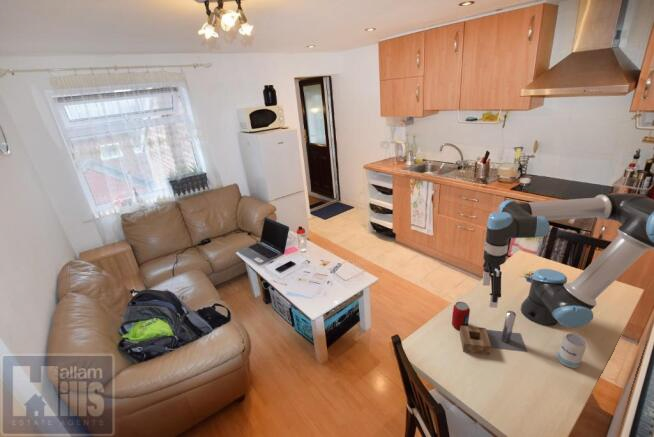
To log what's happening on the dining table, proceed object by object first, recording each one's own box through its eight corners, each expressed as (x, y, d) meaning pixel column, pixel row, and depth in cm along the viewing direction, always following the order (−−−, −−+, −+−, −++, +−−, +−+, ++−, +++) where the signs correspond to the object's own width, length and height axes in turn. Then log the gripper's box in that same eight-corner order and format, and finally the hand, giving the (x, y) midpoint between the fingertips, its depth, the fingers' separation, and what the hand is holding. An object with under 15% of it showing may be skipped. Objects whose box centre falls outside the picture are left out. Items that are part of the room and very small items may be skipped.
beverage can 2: (552, 359, 117) (560, 337, 112) (562, 351, 120) (569, 329, 115) (573, 372, 112) (581, 349, 107) (582, 363, 115) (591, 341, 110)
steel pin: (508, 337, 128) (514, 311, 122) (510, 343, 125) (516, 316, 119) (500, 336, 129) (505, 310, 123) (502, 342, 126) (507, 315, 120)
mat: (520, 333, 130) (520, 333, 130) (527, 352, 121) (527, 352, 121) (484, 329, 133) (484, 329, 133) (489, 347, 125) (489, 347, 125)
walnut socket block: (484, 336, 130) (485, 328, 128) (489, 355, 122) (491, 346, 119) (459, 333, 133) (460, 325, 131) (462, 352, 124) (464, 343, 122)
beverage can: (469, 332, 133) (472, 311, 128) (452, 330, 135) (455, 310, 130) (465, 321, 139) (468, 301, 134) (450, 320, 141) (452, 300, 136)
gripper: (478, 235, 125) (474, 276, 134) (491, 269, 103) (485, 316, 112) (498, 235, 123) (492, 277, 131) (516, 271, 101) (507, 318, 110)
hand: (489, 295), depth 122 cm, fingers open, 13 cm apart
